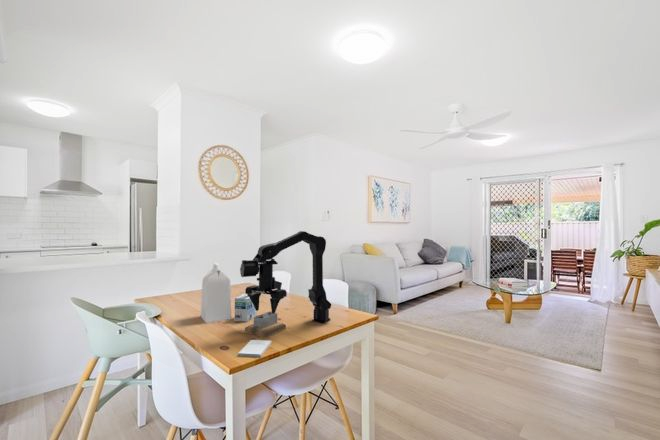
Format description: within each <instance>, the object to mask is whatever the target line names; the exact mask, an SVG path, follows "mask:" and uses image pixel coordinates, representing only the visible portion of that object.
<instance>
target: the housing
mask: <svg viewBox="0 0 660 440" xmlns="http://www.w3.org/2000/svg"><path fill="white" fill-rule="evenodd" d="M277 322H278V313H276V312H275V314H272V311H267V312H264V313H261V314H257V316H255V317H254V318H253V324H254V327H257V328H261V329H263V328H266V327H268V326H271V325H273V324H275V323H277Z"/></svg>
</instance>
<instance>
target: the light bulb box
mask: <svg viewBox="0 0 660 440" xmlns="http://www.w3.org/2000/svg"><path fill="white" fill-rule="evenodd" d="M247 295H248V294H245V293H243V294H240V295H239V296H237V297H235V298H234V322H245V323H247V322H249V321H251V320H252V319H254V317H255V316H258V311H256V309H255V307H254V305H253V303H252V301H251V299H250V298H249V296H247Z"/></svg>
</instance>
